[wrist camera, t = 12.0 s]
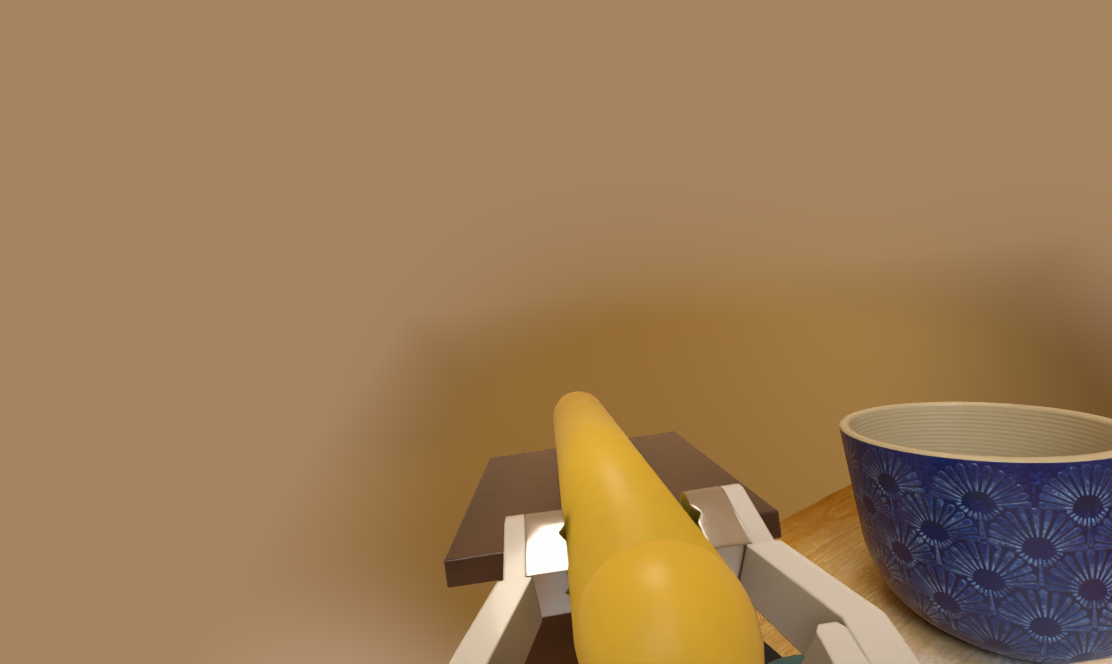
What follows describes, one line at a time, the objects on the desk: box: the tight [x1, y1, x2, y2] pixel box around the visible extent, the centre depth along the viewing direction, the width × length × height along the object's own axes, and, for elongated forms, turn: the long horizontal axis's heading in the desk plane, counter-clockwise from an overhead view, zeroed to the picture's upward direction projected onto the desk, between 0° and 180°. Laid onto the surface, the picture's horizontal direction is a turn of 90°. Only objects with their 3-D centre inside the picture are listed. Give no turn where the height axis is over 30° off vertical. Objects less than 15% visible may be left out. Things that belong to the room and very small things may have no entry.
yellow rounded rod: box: [553, 391, 765, 664], centre depth 17 cm, size 22×3×3 cm, turn 1°
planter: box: [839, 402, 1112, 664], centre depth 41 cm, size 21×21×19 cm
